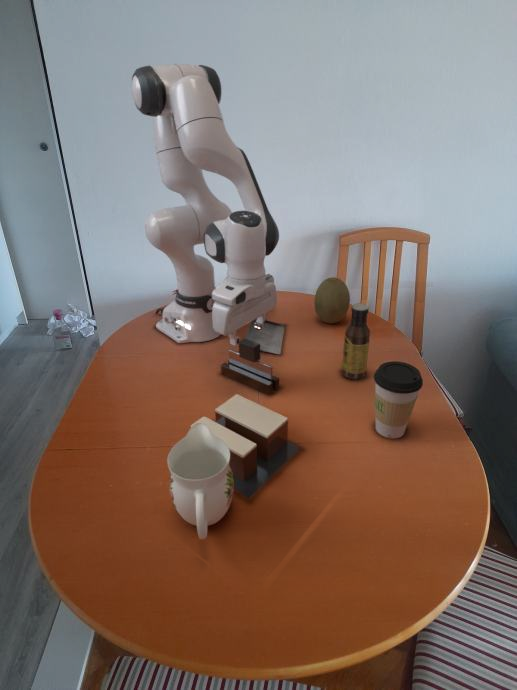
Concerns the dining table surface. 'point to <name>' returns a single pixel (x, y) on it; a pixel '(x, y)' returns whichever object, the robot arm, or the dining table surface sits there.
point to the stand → (250, 378)
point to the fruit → (332, 300)
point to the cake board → (257, 438)
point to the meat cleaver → (267, 336)
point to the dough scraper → (250, 359)
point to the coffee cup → (395, 396)
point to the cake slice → (235, 449)
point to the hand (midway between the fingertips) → (247, 336)
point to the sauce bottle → (356, 343)
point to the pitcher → (200, 478)
